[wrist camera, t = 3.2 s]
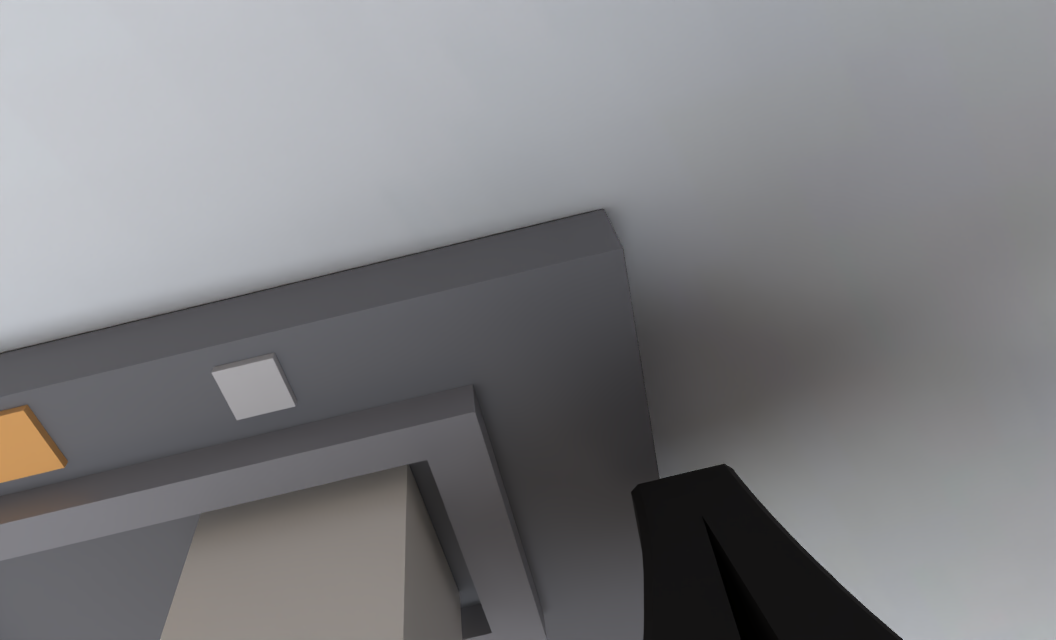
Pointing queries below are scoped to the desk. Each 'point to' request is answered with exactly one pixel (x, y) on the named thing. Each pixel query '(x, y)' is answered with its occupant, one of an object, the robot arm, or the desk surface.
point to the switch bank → (346, 435)
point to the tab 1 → (319, 568)
